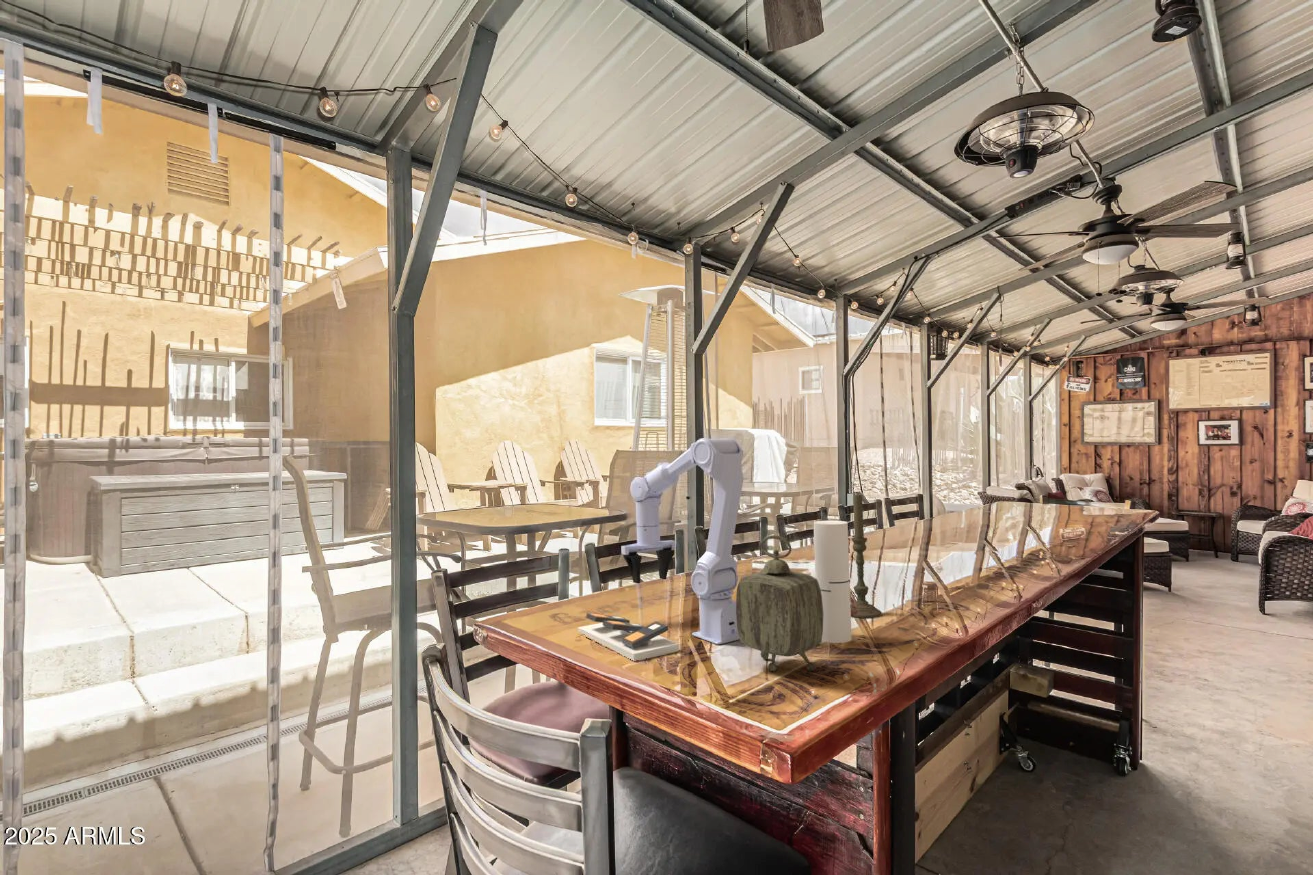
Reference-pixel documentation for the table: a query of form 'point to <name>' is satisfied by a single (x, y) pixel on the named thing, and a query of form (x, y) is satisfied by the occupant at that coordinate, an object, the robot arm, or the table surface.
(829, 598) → the cylindrical container
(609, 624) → the rocker middle
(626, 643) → the rocker near
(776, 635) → the tabletop clock
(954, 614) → the table surface
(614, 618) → the rocker far
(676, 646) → the switch strip
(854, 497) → the candlestick holder
